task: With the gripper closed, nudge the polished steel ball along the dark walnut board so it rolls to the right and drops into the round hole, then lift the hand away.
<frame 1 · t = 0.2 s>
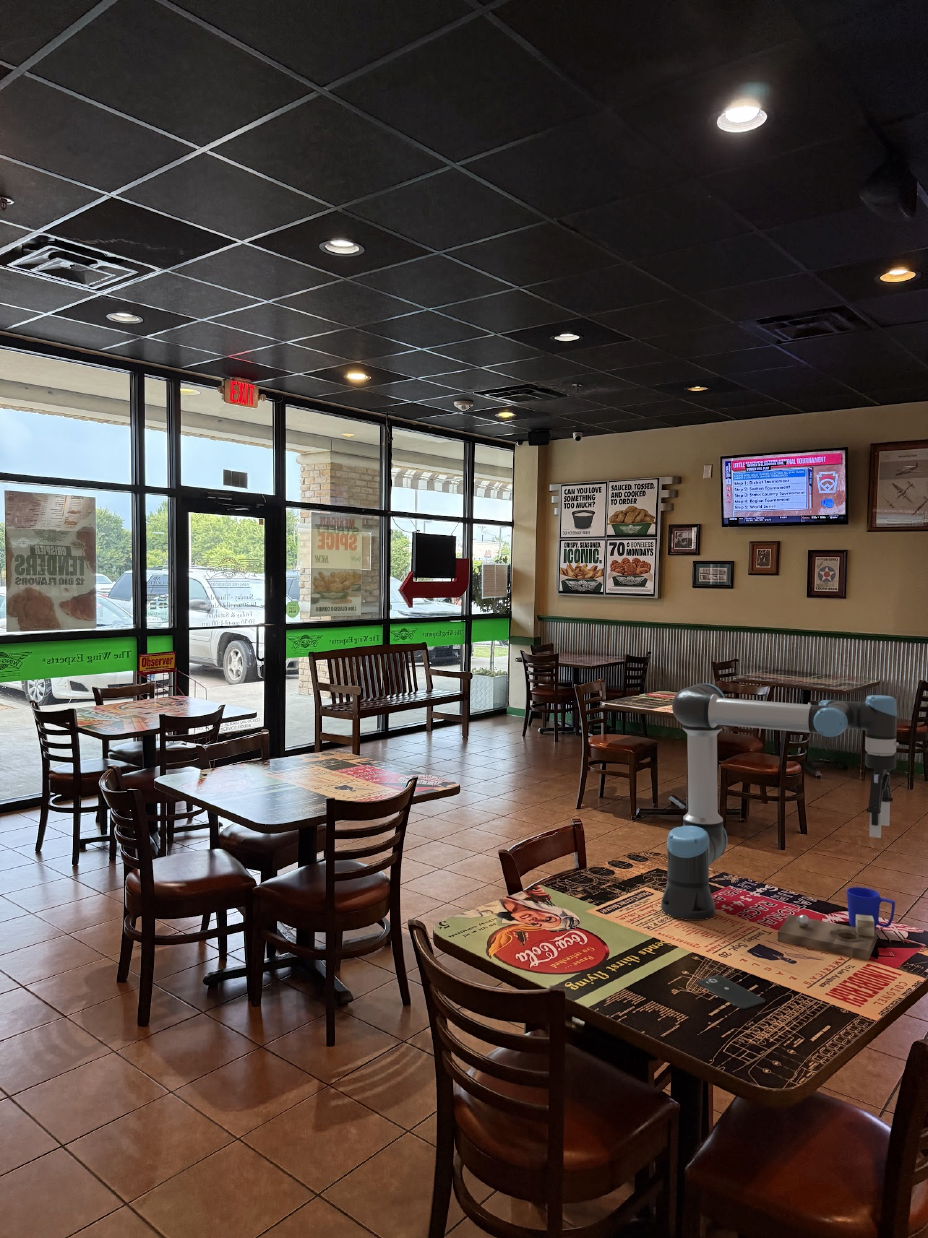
hand: (879, 831, 231), 28 cm above the table, fingers open, 13 cm apart
smartphone: (730, 994, 198), on the table
deck: (827, 941, 226), on the table
ball: (803, 921, 229), point 4 cm above the table, touching deck
maple cube: (864, 933, 225), point 2 cm above the table, touching deck
mug: (870, 930, 233), on the table
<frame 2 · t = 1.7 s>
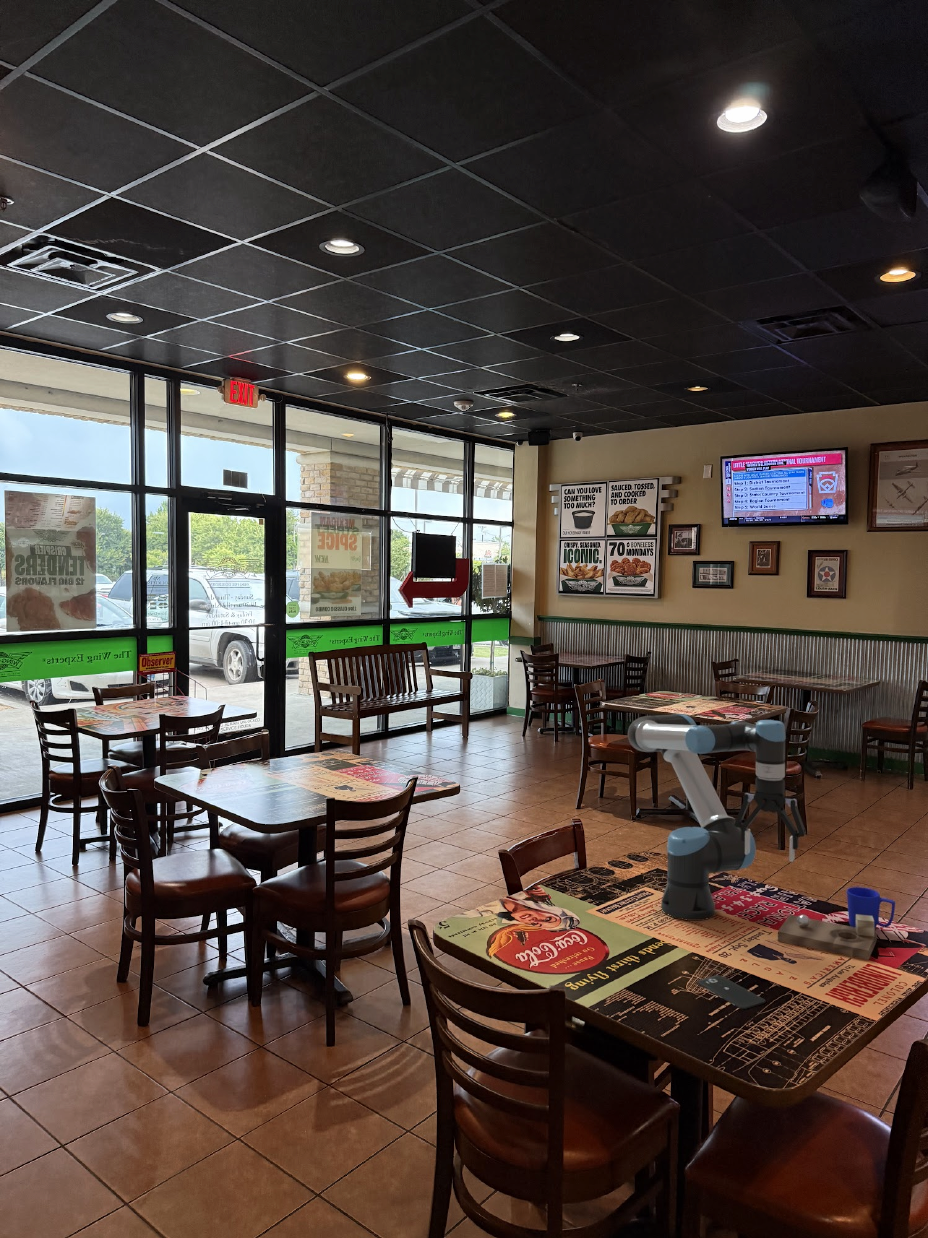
hand: (769, 857, 234), 20 cm above the table, fingers open, 11 cm apart
nothing on the table moved.
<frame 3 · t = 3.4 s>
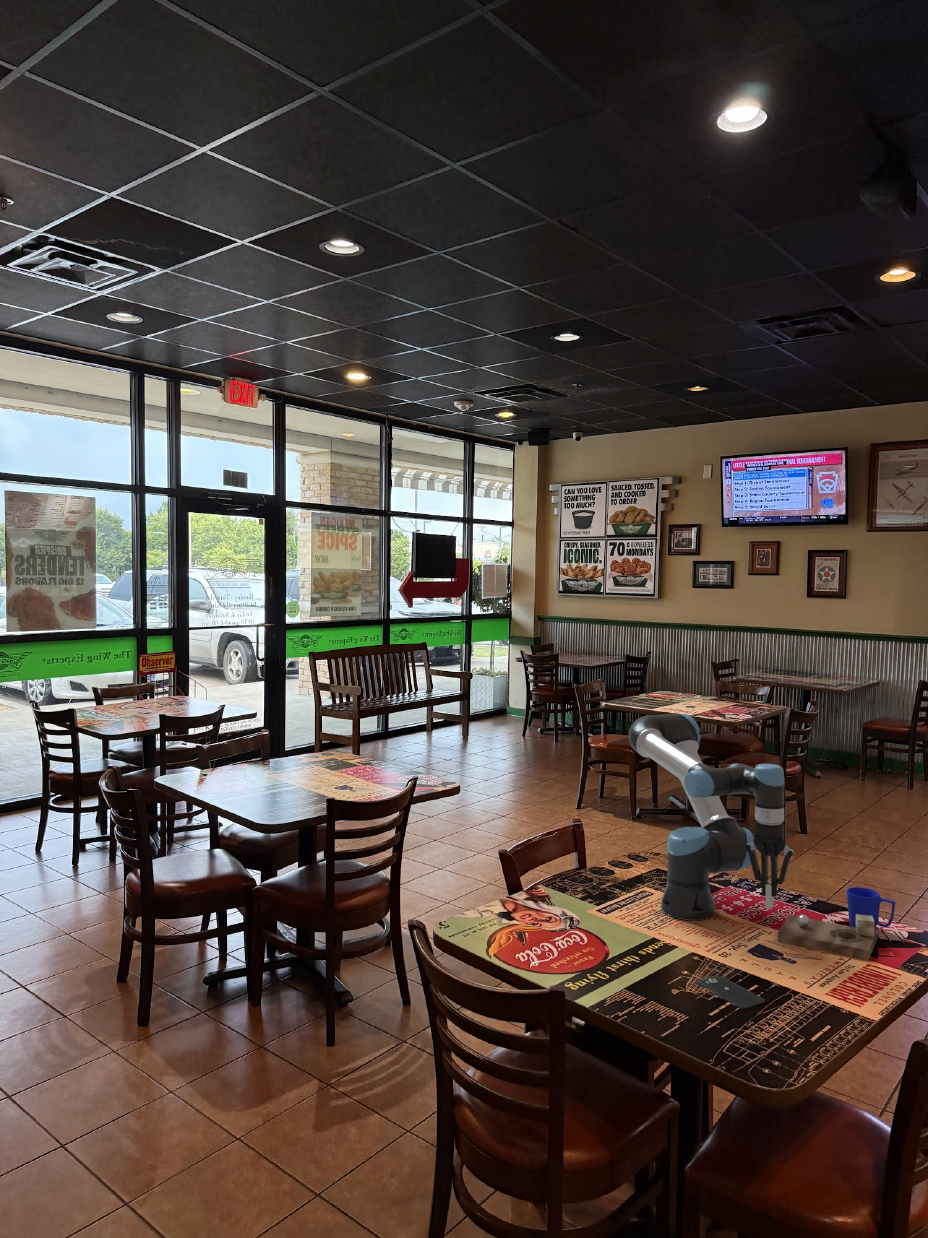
hand: (769, 907, 234), 6 cm above the table, fingers closed
nothing on the table moved.
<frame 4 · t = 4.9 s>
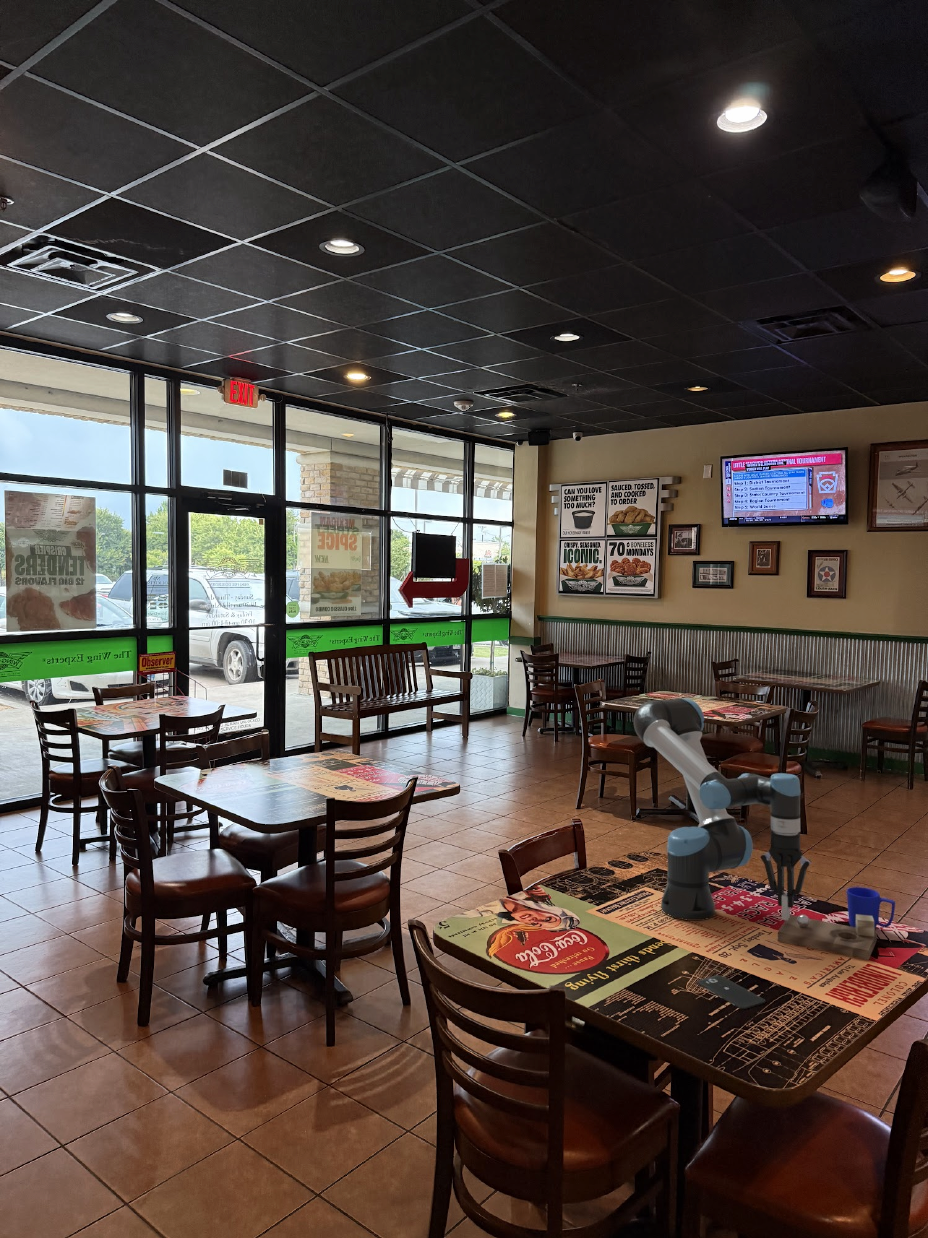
hand: (785, 918, 231), 4 cm above the table, fingers closed
nothing on the table moved.
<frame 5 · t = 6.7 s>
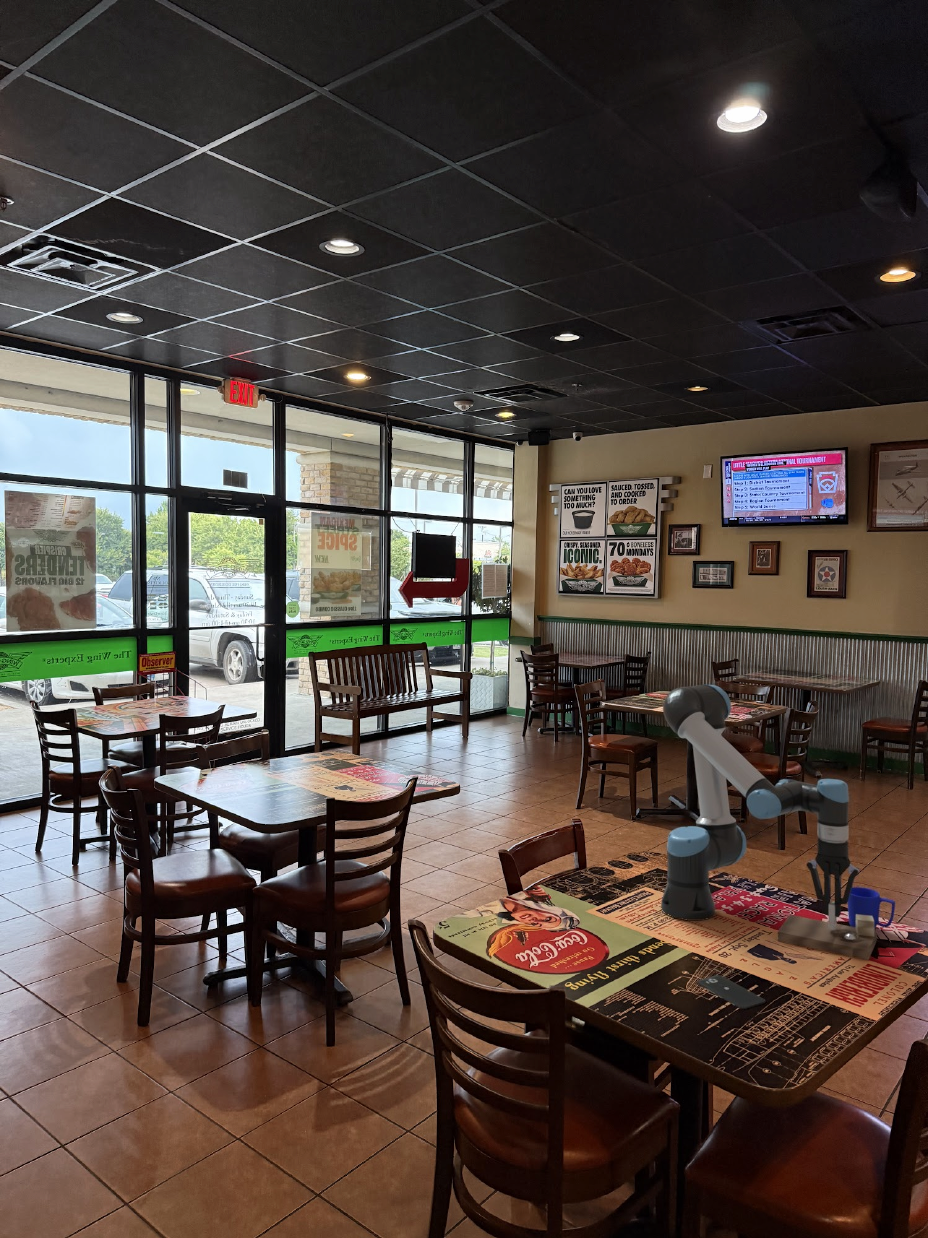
hand: (832, 927, 225), 4 cm above the table, fingers closed
ball: (850, 940, 223), point 2 cm above the table, tilted 91°
everything else where it was.
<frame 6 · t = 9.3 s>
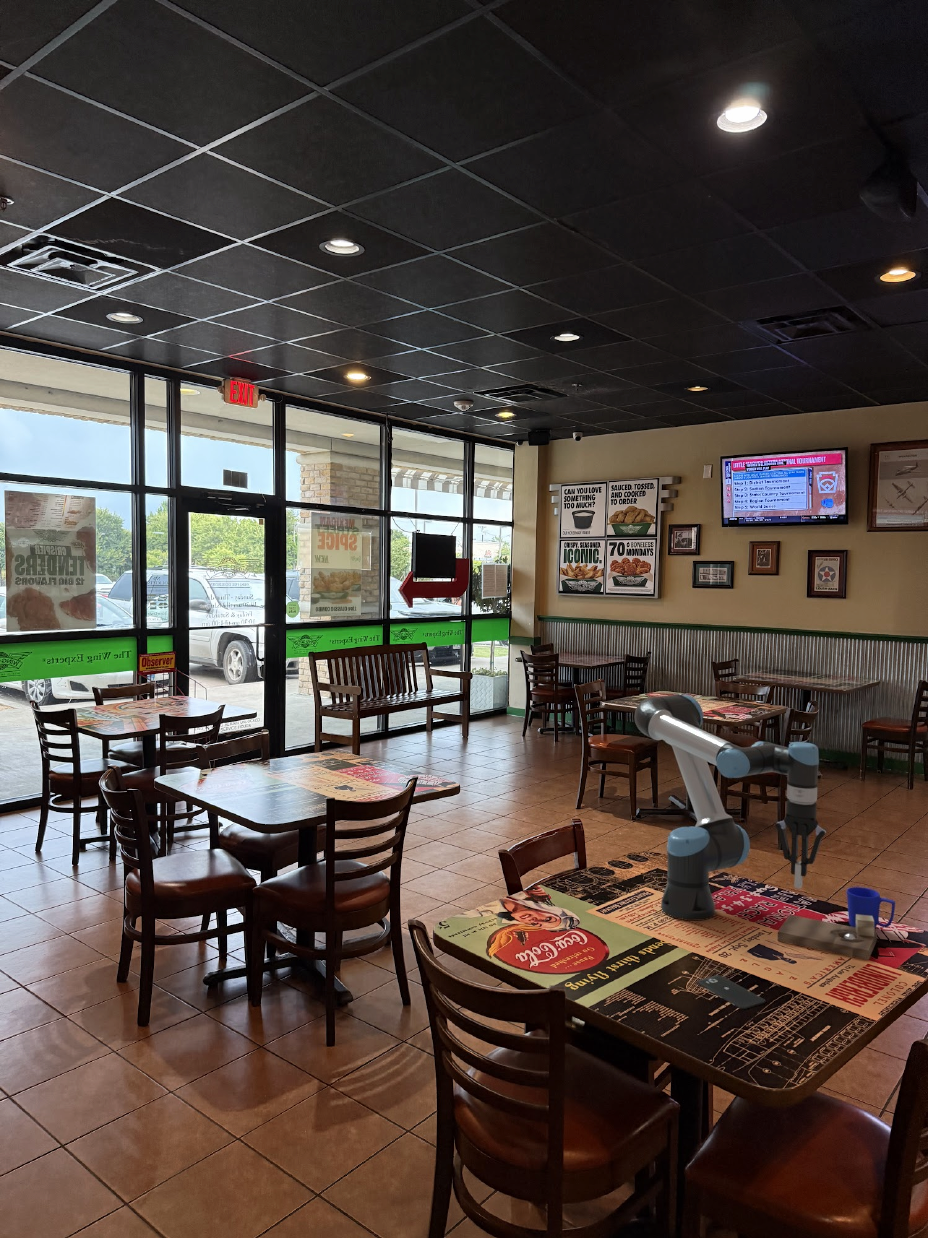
hand: (798, 886, 230), 13 cm above the table, fingers closed
nothing on the table moved.
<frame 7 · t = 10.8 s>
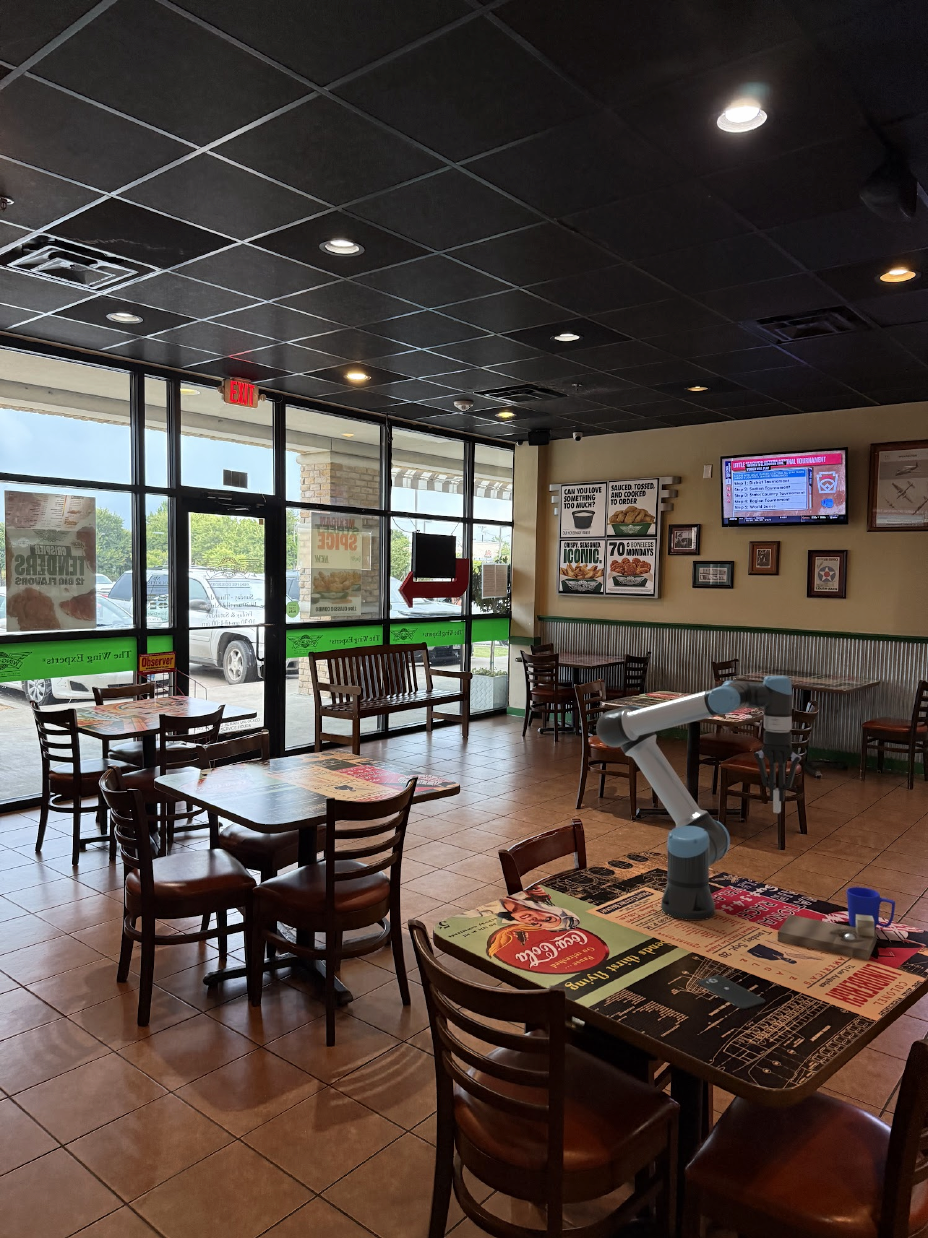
hand: (777, 812, 244), 29 cm above the table, fingers closed
nothing on the table moved.
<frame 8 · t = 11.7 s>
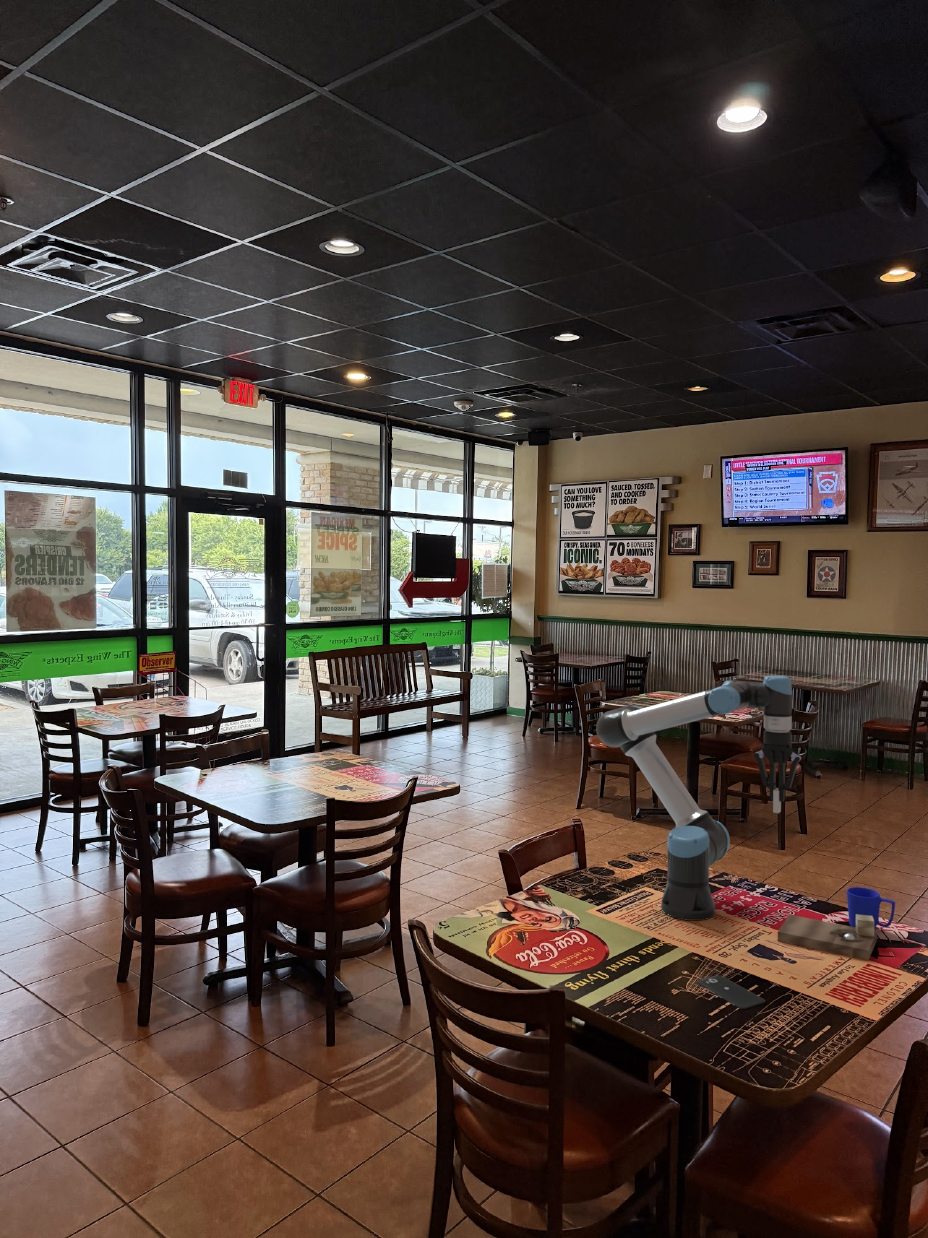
hand: (777, 812, 244), 29 cm above the table, fingers closed
nothing on the table moved.
at the end: ball 0.5 cm from the target spot in the deck, point 1.6 cm above the deck's base; maple cube moved 0.0 cm from its start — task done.
